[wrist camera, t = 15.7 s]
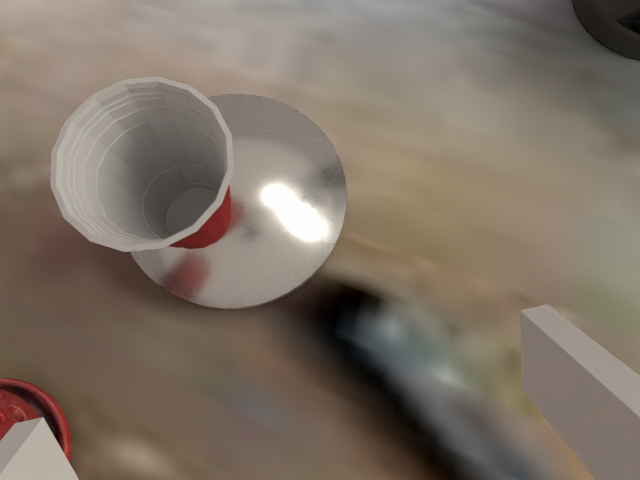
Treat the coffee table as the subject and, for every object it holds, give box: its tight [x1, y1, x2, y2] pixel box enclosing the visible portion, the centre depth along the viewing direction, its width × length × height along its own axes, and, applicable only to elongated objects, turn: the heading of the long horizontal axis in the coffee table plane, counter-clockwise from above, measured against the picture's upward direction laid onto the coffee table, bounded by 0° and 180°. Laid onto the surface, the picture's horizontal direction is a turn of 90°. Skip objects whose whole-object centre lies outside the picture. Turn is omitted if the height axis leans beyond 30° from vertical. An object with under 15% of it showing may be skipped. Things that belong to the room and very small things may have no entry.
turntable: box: [130, 94, 347, 310], centre depth 36 cm, size 20×20×2 cm
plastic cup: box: [50, 76, 234, 252], centre depth 29 cm, size 11×11×12 cm
